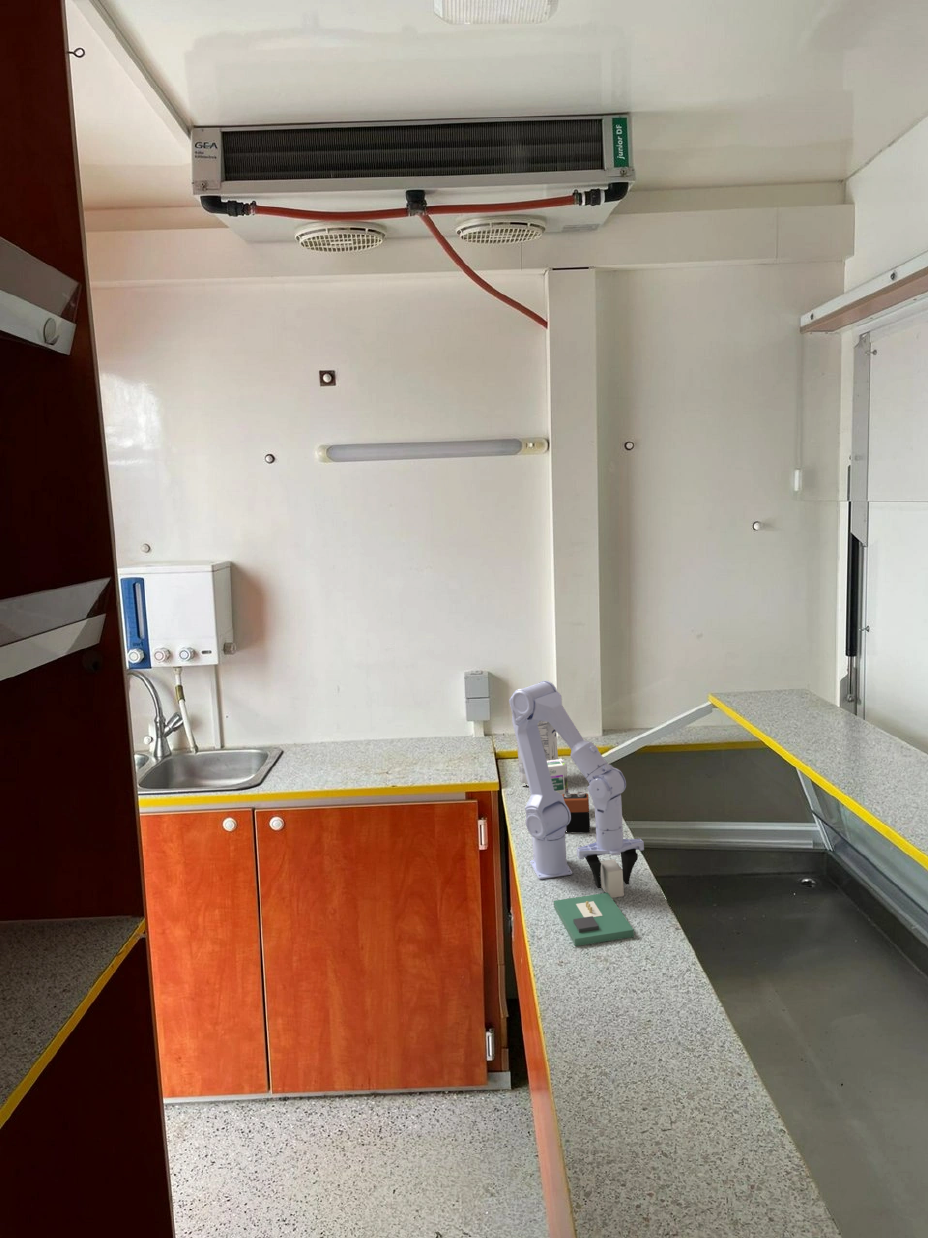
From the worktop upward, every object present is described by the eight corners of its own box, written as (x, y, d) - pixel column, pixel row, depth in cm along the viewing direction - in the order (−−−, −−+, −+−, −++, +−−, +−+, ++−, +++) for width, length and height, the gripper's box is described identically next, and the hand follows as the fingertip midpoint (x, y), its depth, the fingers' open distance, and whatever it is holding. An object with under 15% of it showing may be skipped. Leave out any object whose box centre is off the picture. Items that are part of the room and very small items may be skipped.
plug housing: (599, 883, 196) (597, 858, 195) (613, 881, 196) (611, 856, 195) (609, 898, 189) (608, 872, 188) (623, 896, 189) (622, 870, 188)
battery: (590, 833, 223) (588, 795, 221) (563, 834, 224) (561, 796, 222) (590, 826, 227) (588, 789, 225) (563, 827, 228) (561, 790, 226)
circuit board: (553, 907, 187) (553, 895, 186) (608, 899, 188) (607, 887, 188) (575, 946, 171) (574, 933, 171) (634, 936, 173) (633, 924, 172)
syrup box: (549, 819, 233) (546, 767, 231) (544, 811, 239) (540, 760, 237) (570, 816, 234) (567, 764, 232) (564, 808, 240) (561, 757, 237)
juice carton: (548, 792, 253) (542, 701, 248) (516, 787, 258) (510, 698, 254) (562, 781, 260) (557, 693, 255) (531, 777, 266) (525, 690, 261)
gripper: (581, 837, 184) (585, 897, 186) (647, 828, 186) (650, 888, 189) (572, 824, 191) (576, 883, 193) (636, 815, 193) (638, 873, 195)
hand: (612, 884), depth 191 cm, fingers open, 6 cm apart
